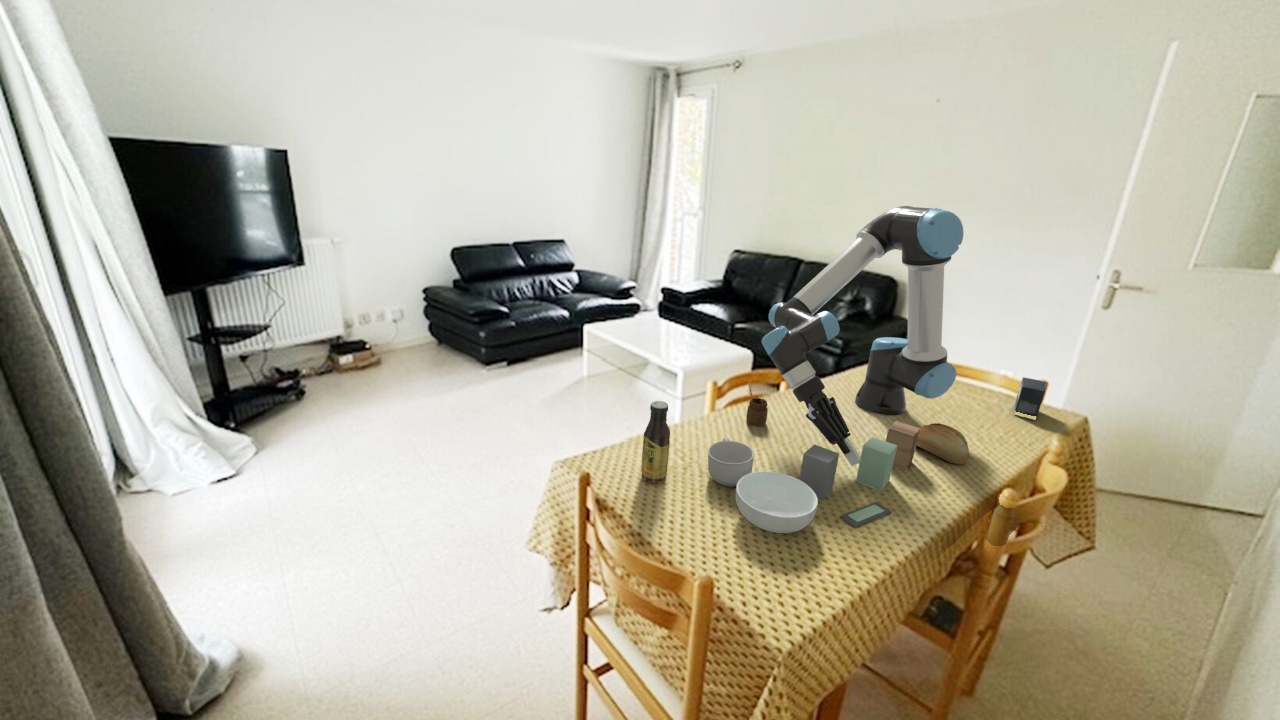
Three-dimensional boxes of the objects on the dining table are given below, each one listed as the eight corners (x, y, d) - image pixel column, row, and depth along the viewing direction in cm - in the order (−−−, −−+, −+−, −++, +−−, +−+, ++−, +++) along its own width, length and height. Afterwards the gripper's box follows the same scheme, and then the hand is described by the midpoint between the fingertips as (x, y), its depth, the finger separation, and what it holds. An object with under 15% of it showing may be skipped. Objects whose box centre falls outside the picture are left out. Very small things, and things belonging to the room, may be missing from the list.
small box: (1013, 404, 177) (1022, 376, 173) (1036, 410, 173) (1046, 381, 170) (1012, 415, 169) (1021, 385, 165) (1036, 421, 165) (1046, 390, 162)
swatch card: (876, 503, 120) (876, 500, 120) (891, 512, 117) (891, 510, 116) (839, 517, 114) (840, 515, 114) (854, 528, 111) (855, 525, 111)
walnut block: (888, 453, 142) (895, 420, 138) (911, 462, 138) (920, 428, 135) (881, 462, 137) (888, 428, 134) (905, 470, 134) (913, 436, 130)
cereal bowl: (763, 554, 102) (767, 524, 100) (718, 506, 116) (721, 478, 114) (830, 534, 109) (836, 505, 106) (780, 491, 123) (784, 465, 121)
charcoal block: (808, 480, 128) (814, 444, 124) (832, 490, 124) (839, 453, 121) (797, 490, 123) (803, 453, 120) (822, 501, 120) (829, 463, 116)
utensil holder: (768, 427, 154) (773, 390, 150) (746, 426, 154) (751, 389, 150) (764, 418, 159) (768, 382, 155) (743, 417, 159) (747, 381, 155)
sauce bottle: (636, 473, 128) (640, 399, 121) (660, 469, 130) (664, 396, 123) (647, 488, 122) (651, 411, 115) (671, 482, 124) (677, 407, 118)
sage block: (864, 471, 132) (872, 436, 129) (889, 481, 129) (897, 445, 125) (855, 481, 128) (863, 445, 125) (880, 491, 125) (889, 454, 121)
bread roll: (919, 438, 152) (925, 413, 149) (974, 460, 140) (982, 434, 137) (902, 446, 146) (908, 420, 143) (957, 471, 135) (965, 443, 132)
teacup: (750, 495, 121) (754, 465, 118) (703, 488, 123) (706, 458, 120) (750, 464, 134) (754, 436, 131) (708, 458, 136) (710, 431, 133)
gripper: (803, 382, 141) (854, 458, 137) (781, 395, 132) (834, 478, 128) (826, 369, 136) (879, 448, 132) (804, 382, 127) (860, 467, 122)
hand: (857, 463), depth 130 cm, fingers closed
